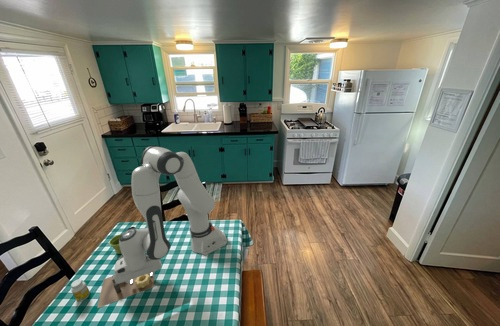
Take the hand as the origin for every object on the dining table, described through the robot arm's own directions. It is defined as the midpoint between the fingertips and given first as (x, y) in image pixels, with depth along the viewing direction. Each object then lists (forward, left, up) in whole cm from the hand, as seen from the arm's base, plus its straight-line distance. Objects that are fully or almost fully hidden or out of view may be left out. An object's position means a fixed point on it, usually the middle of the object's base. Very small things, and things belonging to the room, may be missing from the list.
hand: (142, 280), depth 102 cm
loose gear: (0, 0, -2) cm, 2 cm away
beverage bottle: (+3, -22, -4) cm, 23 cm away
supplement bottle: (+27, -6, -4) cm, 28 cm away
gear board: (+7, -3, -3) cm, 8 cm away
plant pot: (+13, -31, -4) cm, 34 cm away
